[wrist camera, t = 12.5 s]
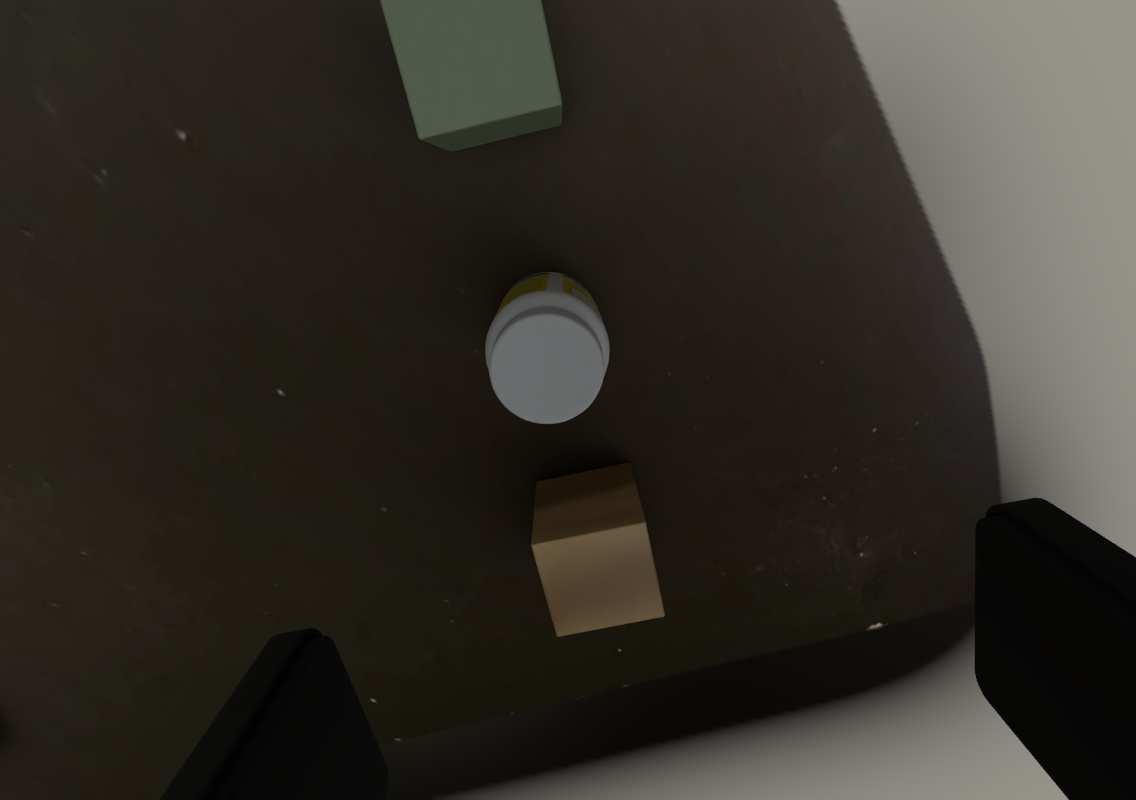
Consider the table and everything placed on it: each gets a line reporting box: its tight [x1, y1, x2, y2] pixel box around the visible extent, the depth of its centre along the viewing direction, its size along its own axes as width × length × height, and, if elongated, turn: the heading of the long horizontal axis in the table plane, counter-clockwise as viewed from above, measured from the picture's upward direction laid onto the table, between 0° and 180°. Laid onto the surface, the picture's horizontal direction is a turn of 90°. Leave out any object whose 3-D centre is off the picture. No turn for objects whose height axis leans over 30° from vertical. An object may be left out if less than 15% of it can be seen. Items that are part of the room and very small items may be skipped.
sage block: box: [380, 0, 562, 152], centre depth 22 cm, size 5×5×6 cm
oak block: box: [531, 463, 665, 637], centre depth 29 cm, size 5×5×6 cm
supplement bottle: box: [485, 272, 609, 424], centre depth 24 cm, size 5×5×8 cm
